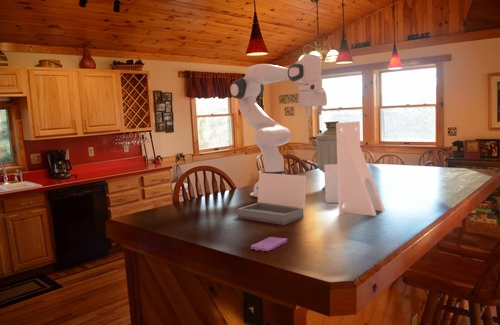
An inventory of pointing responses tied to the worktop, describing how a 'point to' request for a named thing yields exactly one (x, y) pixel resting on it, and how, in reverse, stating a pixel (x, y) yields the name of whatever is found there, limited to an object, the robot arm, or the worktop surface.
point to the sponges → (269, 244)
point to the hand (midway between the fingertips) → (314, 115)
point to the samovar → (326, 146)
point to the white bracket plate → (354, 174)
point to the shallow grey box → (270, 213)
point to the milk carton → (331, 183)
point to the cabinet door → (282, 189)
